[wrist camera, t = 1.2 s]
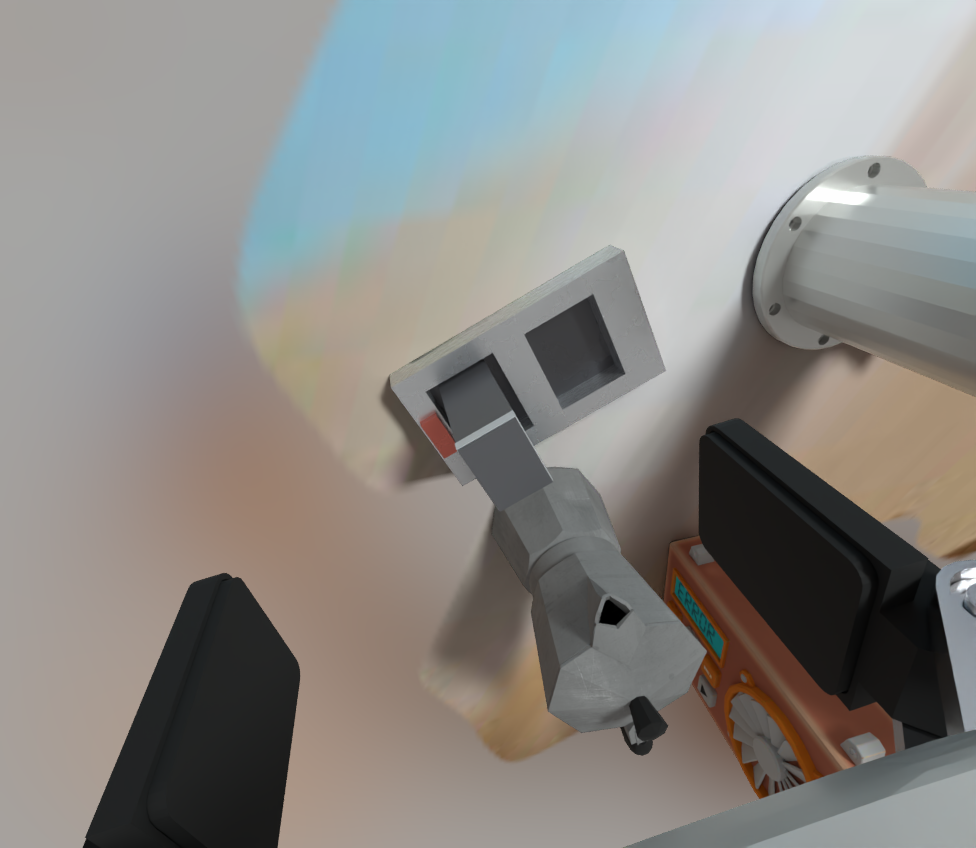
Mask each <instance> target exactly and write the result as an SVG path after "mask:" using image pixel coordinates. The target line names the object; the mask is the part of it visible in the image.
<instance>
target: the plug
mask: <svg viewBox="0 0 976 848" xmlns="http://www.w3.org/2000/svg"><path fill="white" fill-rule="evenodd" d="M438 387H439V390H440V393H441V397H442V400H443V403H444V406H445V410H446V413H447V416H448V420H449V423H450V426H451V430H452V433H453V436H454V440H455V447H456V450H457V451H458V453H459V454H460V456H461V457H462V459H463V460H464V461H465V463H466V464H467V466H468V467H469V469H470V470H471V471H472V473H473V474H474V476H475V477H476V479H477V480H478V481H479V483H480V484H481V486H482V487H483V489H484V490H485V492H486V493H487V494H488V496H489V497H490V499H491V500H492V502H493V503H494V504H495V506H496V507H497V509H498V510H499V511H502V510H504V509H506V508H508V507H509V506H511V505H513V504H515V503H517V502H518V501H520V500H522V499H524V498H526V497H527V496H529V495H531V494H533V493H534V492H536V491H538V490H540V489H542V488H543V487H545V486H547V485H549V484H551V483H552V482H553V481H552V480H553V479H552V477H551V475H550V474H549V472H548V470H547V468H546V467H545V465H544V463H543V461H542V460H541V458H540V456H539V455H538V453H537V451H536V449H535V448H534V446H533V444H532V443H531V441H530V439H529V437H528V436H527V434H526V432H525V430H524V429H523V427H522V425H521V423H520V421H519V420H518V418H517V416H516V414H515V412H514V411H513V409H512V407H511V406H510V404H509V402H508V400H507V399H506V397H505V395H504V393H503V392H502V390H501V388H500V387H499V385H498V383H497V381H496V380H495V378H494V376H493V375H492V373H491V371H490V369H489V368H488V366H487V364H486V362H485V361H484V359H481V360H479V361H478V362H476V363H474V364H473V365H471V366H469V367H467V368H466V369H464V370H462V371H461V372H459V373H457V374H455V375H454V376H452V377H450V378H449V379H447V380H445V381H443V382H442V383H440V384H438Z"/></svg>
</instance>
